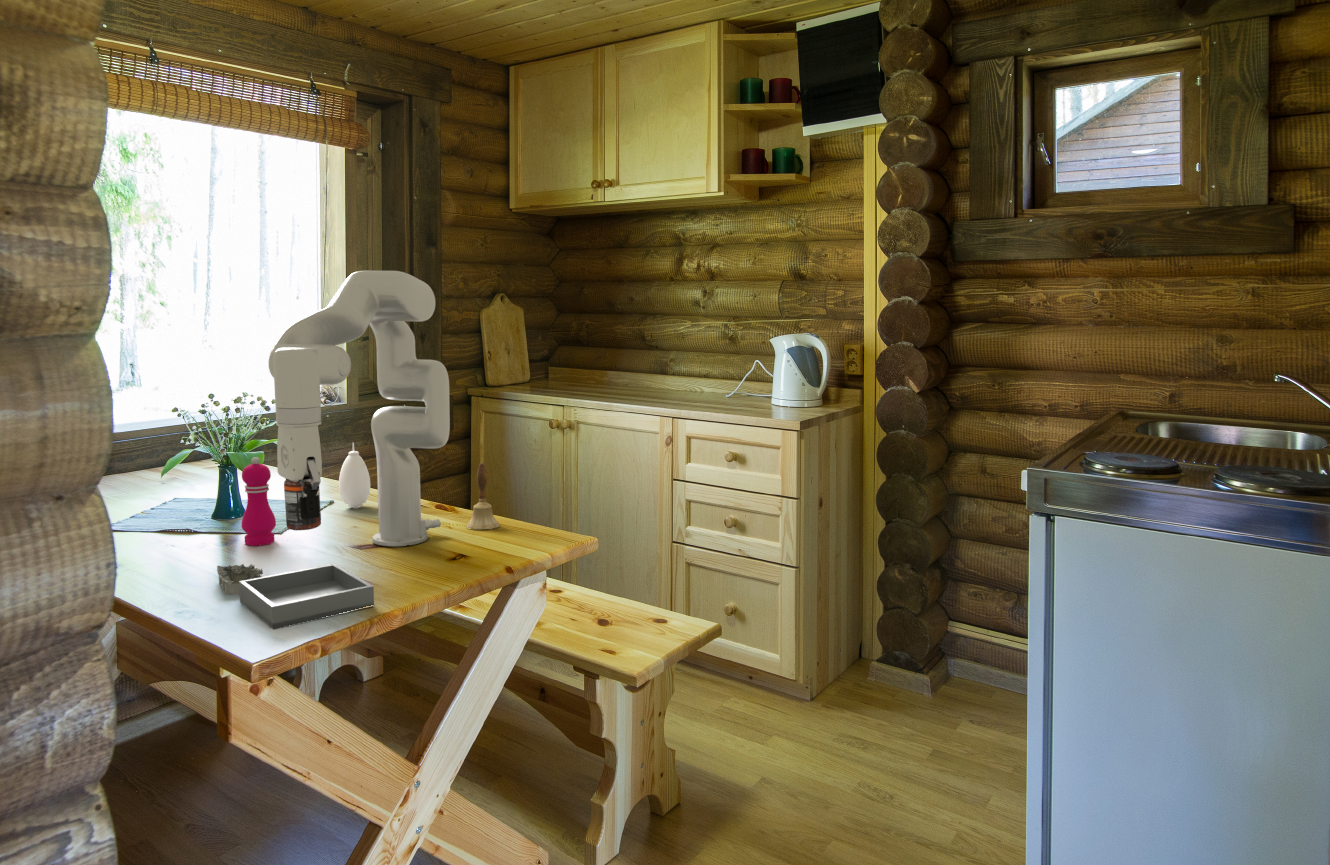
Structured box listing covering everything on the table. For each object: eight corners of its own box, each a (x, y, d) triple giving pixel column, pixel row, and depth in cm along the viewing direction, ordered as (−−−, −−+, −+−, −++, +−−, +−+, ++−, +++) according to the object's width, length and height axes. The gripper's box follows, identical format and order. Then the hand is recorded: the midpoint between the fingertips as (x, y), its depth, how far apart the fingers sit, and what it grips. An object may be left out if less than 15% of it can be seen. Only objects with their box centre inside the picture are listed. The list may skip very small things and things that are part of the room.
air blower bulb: (376, 506, 242) (374, 441, 240) (353, 512, 236) (350, 445, 233) (357, 503, 247) (355, 438, 244) (333, 508, 240) (331, 442, 237)
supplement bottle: (310, 521, 167) (308, 462, 166) (327, 526, 164) (325, 466, 162) (279, 527, 163) (276, 466, 161) (296, 533, 159) (293, 470, 157)
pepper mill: (263, 547, 202) (259, 460, 199) (235, 545, 203) (230, 459, 200) (283, 539, 209) (279, 455, 206) (255, 537, 210) (251, 453, 207)
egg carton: (266, 591, 173) (264, 571, 172) (222, 598, 169) (221, 577, 168) (257, 576, 182) (256, 557, 181) (216, 582, 178) (215, 562, 177)
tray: (336, 583, 178) (335, 563, 177) (374, 606, 164) (373, 586, 164) (240, 602, 166) (239, 581, 165) (272, 629, 153) (271, 607, 152)
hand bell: (460, 525, 224) (459, 463, 222) (489, 520, 230) (488, 459, 227) (475, 532, 218) (474, 468, 216) (505, 527, 223) (505, 464, 221)
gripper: (261, 413, 164) (266, 508, 167) (294, 423, 151) (299, 527, 154) (302, 410, 169) (306, 503, 172) (338, 420, 156) (342, 520, 159)
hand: (303, 513), depth 163 cm, fingers closed on supplement bottle, 6 cm apart
